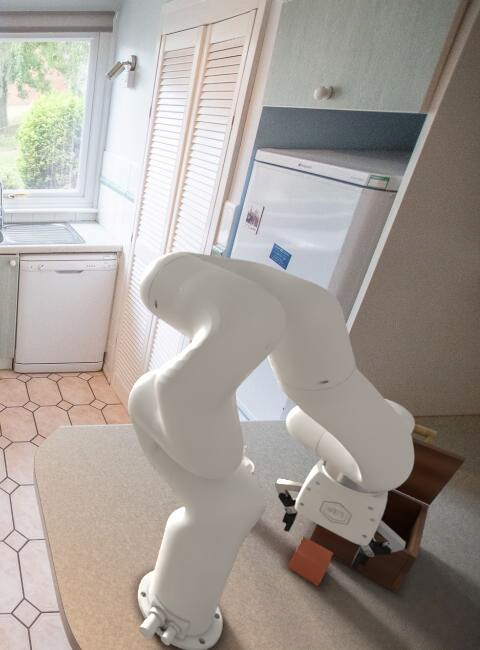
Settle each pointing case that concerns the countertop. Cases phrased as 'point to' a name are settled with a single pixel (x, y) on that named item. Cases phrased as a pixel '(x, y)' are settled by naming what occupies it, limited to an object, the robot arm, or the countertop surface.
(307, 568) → the block
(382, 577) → the chest
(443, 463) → the lid
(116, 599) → the countertop surface
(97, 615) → the countertop surface
